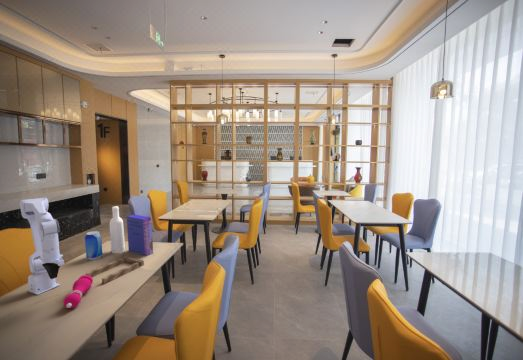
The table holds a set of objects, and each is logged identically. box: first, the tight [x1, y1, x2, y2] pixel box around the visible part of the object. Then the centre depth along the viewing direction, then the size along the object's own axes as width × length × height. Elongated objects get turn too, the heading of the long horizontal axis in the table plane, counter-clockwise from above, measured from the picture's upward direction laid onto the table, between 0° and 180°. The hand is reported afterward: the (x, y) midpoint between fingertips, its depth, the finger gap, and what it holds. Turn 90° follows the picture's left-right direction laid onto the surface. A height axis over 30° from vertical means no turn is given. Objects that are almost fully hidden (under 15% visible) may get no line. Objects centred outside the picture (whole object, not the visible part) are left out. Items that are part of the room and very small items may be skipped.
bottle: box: [109, 205, 126, 254], centre depth 166 cm, size 8×8×30 cm
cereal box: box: [126, 214, 154, 257], centre depth 165 cm, size 17×5×24 cm, turn 64°
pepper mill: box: [63, 274, 94, 309], centre depth 113 cm, size 7×7×20 cm
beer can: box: [84, 230, 103, 261], centre depth 157 cm, size 8×8×16 cm
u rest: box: [85, 255, 145, 285], centre depth 140 cm, size 24×15×2 cm, turn 155°
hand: (53, 277), depth 112 cm, fingers closed
